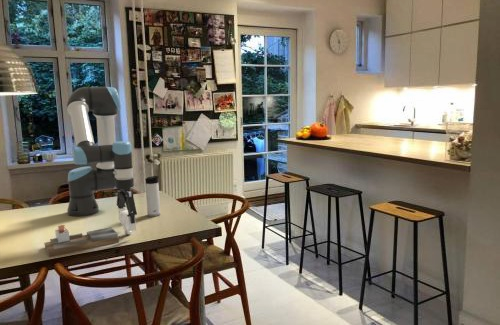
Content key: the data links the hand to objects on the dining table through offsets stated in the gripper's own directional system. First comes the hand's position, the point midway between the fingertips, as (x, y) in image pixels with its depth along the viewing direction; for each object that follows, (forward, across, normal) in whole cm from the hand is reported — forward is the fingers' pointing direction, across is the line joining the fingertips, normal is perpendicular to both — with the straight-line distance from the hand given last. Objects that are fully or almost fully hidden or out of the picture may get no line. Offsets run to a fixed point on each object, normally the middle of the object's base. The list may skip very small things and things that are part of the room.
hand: (127, 226), depth 177 cm
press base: (+4, +1, -19) cm, 19 cm away
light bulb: (+4, 0, 0) cm, 4 cm away
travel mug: (+4, -22, +20) cm, 30 cm away
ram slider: (+2, +1, -26) cm, 26 cm away
